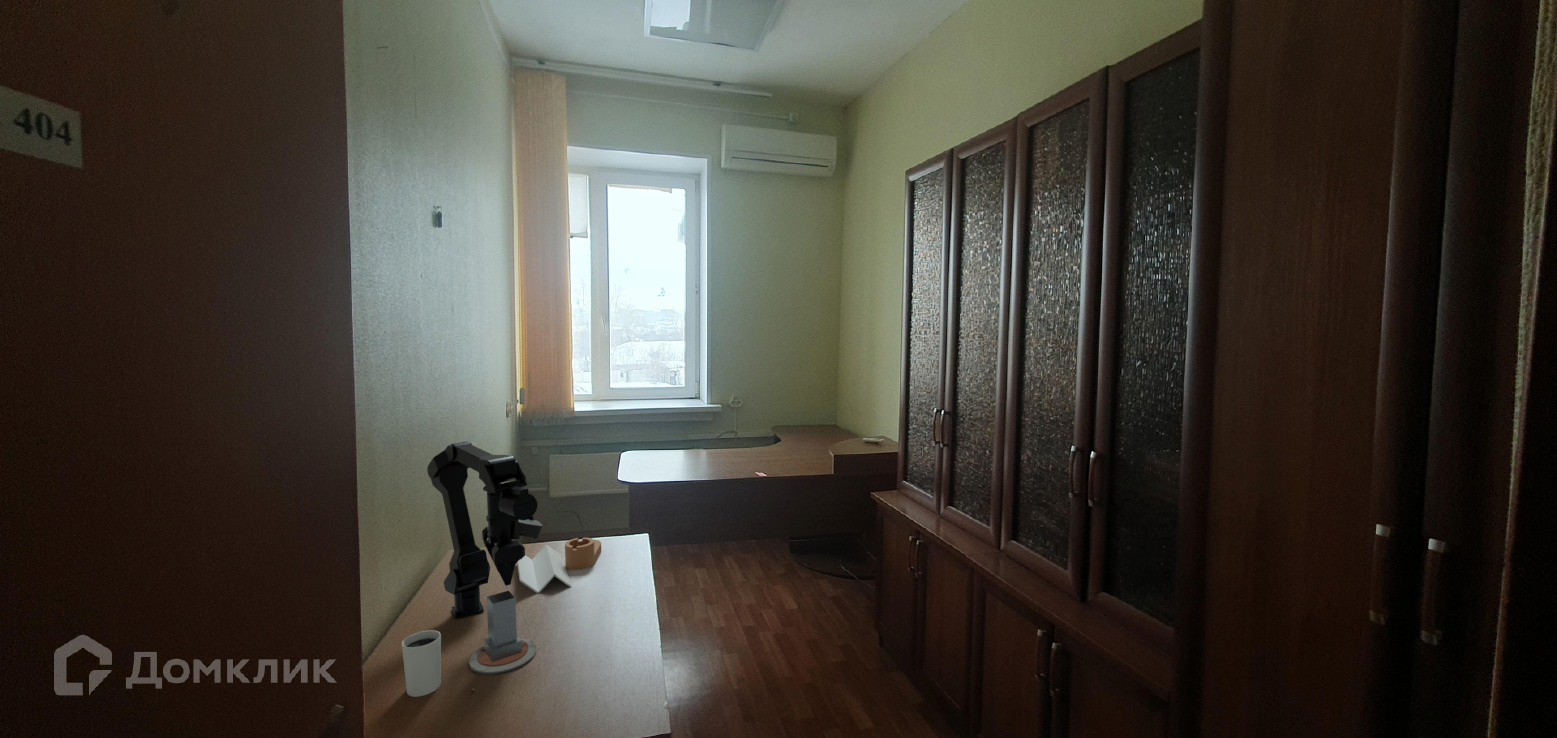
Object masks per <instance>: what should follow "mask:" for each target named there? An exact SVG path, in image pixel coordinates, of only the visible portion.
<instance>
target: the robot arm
mask: <svg viewBox="0 0 1557 738" xmlns="http://www.w3.org/2000/svg"><path fill="white" fill-rule="evenodd" d="M469 469H472V470H473V471H476V472H477V473H478V478H479V480H480V481H482V483H483V484H484V486H483V488H482V490H483V491H484V492H486V502H487V503H486V504H487V505H486V506H487V515H486V517H485V519H486V521H487V526H485V527H484V528H483V529H482V531H481V537H482V538H481V539H482V541H483V544H484V546H485V548H486V550H487V551H486V550H485V549H484V548H483V549H481V548H480V547H479V546H478V545H477V544H476V540H475V536H474V531H473V527H472V522H471V517H470V512H469V508H468V503H467V500H466V494H465V489H464V488H465V485H466V482H467V480H468V478H469V474H468V473H469V471H468V470H469ZM426 470H427V474H428V477H429V478H430V481H431V483H432V487H434V488H435V489H436V490H437V491H438V492H440V494H441V495H442V499H443V504H444V509H445V515H446V518H447V523H448V528H449V533H450V537H451V543H452V547H453V553H452V555H451V559H450V561H449V562H448V563H449V564H448V565H449V566H448V567H449V572H448V574H447V576H446V577H445V579H444V581H443V585H444V591H445V592H447V593H448V594H451V595H453V599H454V606H452V607H451V611H452V614H453V618H454V619H459V618H463V617H467V616H471V615H476V614H480V613H484V612H485V609H484V606H483V604H482V602H481V589H480V588H481V587H480V586H482V585H484V584H488V583H489V577H490V573H491V572H490V571H491V565H490V562H489V561H488V557H487V552H488V554H489V556H490V559H491V560H492V562H493V564H494V566H495V568H496V571H497V572H498V573H499V576H500V577H501V580H502V582H503V584H504V586H505V587H506V586H510V585H511V583H512V580H513V577H514V576H513V575H514V572H515V568H516V564H517V562H518V561H519V560H521V559H522V558H523V557H524V556H525V555H526V548H525V546H524V545H523V543H522V542H520V541H519V539H520V538H521V537H526V538H531V539H534V540H538V539H539V538H540V535H541V532H542V528H543V524H542V523H541V521H538V519H534V514H535V513H536V511H537V509H538V500H537V498H536V497H535V496H534V495H533V494H532V493H531V494H530V493H529V488H528V487H527V486H528V483H527V480H526V479H527V477H526V475H525V473H524V472H523V470H522V469H521V466H520V463H519V462H518V460H517V459H516V458H515V457H514V456H513V455H508V454H492V453H490V452H488V451H486V450H483V449H482V448H479V447H477V446H474V445H473V444H472V442H469V441H462V442H454V443H450V444H448V445H447V446H446V448H445V449H444V450H443V451H441V452H440V453H438V454H436V455H434V456H433V457H432V459H431V461H429V463H428V465H427V469H426Z"/></svg>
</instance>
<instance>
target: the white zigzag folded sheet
mask: <svg viewBox="0 0 1557 738" xmlns="http://www.w3.org/2000/svg"><path fill="white" fill-rule="evenodd" d="M516 564H517V569H518V577H519V582H520V583H522V584H523V585H524V586H526V587H528V588H529V589H530V590H532V591H534V592H535V593H536V594H540V593H541V592H542V591H543V590H544V588H546V586H547V585H548V584H549V583H550V582H551V580H552V579H554V577H555V578H557V579H558V580H559V581H561V582H562V583H564V584H565V585H566V586H567V587H569V588H572V587H573V585H572V583H571V580H570V577H569V573H568V571H567V570H568V569H567V568H566V566H565V560H564V559H563V555H562V554H560V553H559V552H557V551H556V550H555V549H553V548H552V547H551V546H550V545H548V544H544V546H543V547H542V548H541V549H540V550H539V551H538V553H536V555H534V557H533V558H530V557H529V556H527V555H526V554H525V556H524V557H523V558H522V559H521V560H519V561H518V562H517V563H516Z"/></svg>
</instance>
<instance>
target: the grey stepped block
mask: <svg viewBox="0 0 1557 738" xmlns="http://www.w3.org/2000/svg"><path fill="white" fill-rule="evenodd" d="M516 608H517V607H516V596H514V595H513V593H512V592H511V591H510V590H506V591H503V592H499V593H496V594H490V595H488V596H486V612H487V613H486V614H487V638H486V637H485V638H484V639H483V646H484V651H485V652H486V654H487V655H488V657H489V658H490V660H491V661H492V662H494V661H497V660H500V659H503V658H506V657H509V656H512V655H515V654H518V653H521V652H522V640H521V639H520V638H521V637H519V636H518V632H517V630H518V629H517V609H516Z"/></svg>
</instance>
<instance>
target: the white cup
mask: <svg viewBox="0 0 1557 738" xmlns="http://www.w3.org/2000/svg"><path fill="white" fill-rule="evenodd" d="M401 651H402V659H403V667H404V670H403V671H404V676H405V687H406V693H407V695H408V696H409V697H415V698H417V697H423V696H426V695H429V694H432V693H433V692H435V691H437V690H438V689H439V688H440V687H441V683H442V675H441V674H442V665H441V664H442V635H441V632H440V631H438V630H432V629H431V630H430V629H429V630H423V631H419V632H415V633H412V634H410V635H408V636H407V637H405V638H404V639H403V640H402V642H401Z"/></svg>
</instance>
